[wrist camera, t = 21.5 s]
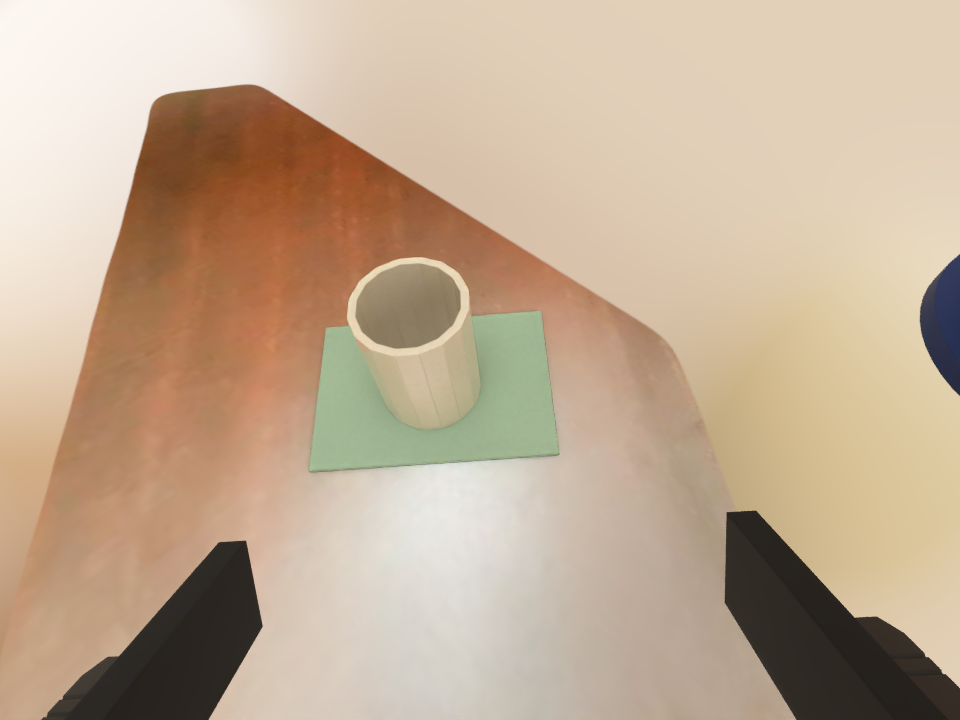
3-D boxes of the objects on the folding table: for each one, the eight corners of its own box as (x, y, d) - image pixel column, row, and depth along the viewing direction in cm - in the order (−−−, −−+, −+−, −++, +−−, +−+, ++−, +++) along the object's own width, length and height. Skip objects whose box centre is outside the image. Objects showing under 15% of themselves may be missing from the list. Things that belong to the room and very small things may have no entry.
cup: (478, 341, 50) (467, 252, 41) (483, 426, 46) (471, 350, 36) (385, 348, 51) (352, 262, 41) (381, 433, 46) (342, 360, 36)
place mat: (540, 313, 52) (541, 310, 52) (558, 455, 45) (559, 453, 44) (327, 329, 53) (326, 327, 52) (310, 472, 45) (308, 470, 45)
